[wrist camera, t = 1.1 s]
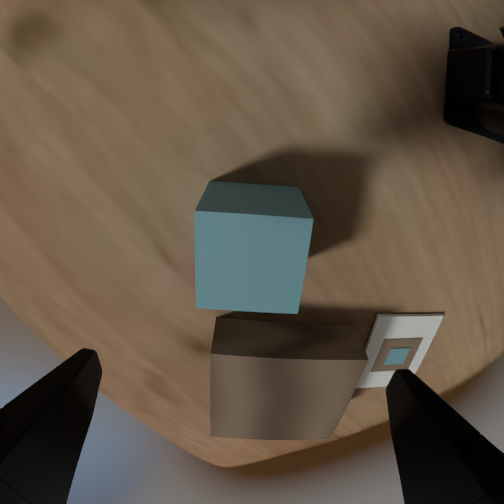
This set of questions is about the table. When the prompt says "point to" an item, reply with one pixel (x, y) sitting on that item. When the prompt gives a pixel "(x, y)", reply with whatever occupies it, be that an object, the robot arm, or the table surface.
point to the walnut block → (282, 378)
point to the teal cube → (251, 247)
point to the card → (397, 345)
